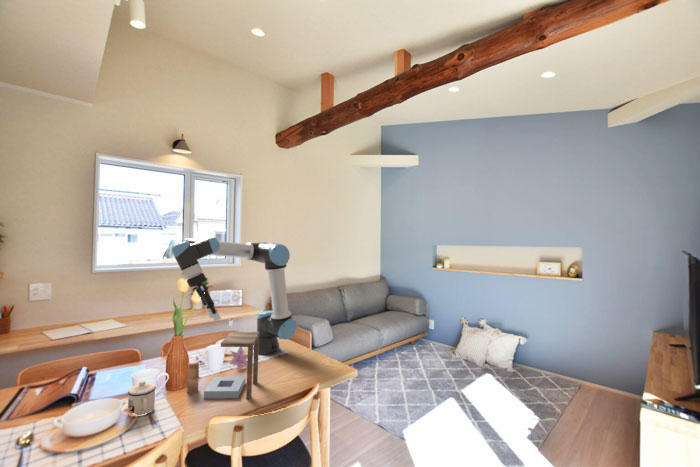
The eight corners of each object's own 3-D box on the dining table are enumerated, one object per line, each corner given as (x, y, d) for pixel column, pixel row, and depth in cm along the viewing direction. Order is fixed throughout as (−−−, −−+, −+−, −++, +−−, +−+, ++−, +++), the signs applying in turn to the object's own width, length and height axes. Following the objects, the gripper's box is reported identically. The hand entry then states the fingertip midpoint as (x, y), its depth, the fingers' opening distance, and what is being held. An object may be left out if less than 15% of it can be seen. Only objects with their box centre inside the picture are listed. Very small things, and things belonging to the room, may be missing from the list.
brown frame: (229, 382, 156) (230, 331, 156) (257, 382, 157) (259, 332, 157) (218, 399, 140) (220, 343, 140) (250, 399, 141) (252, 343, 141)
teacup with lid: (125, 410, 129) (126, 380, 129) (152, 403, 135) (153, 374, 135) (130, 424, 120) (131, 392, 120) (159, 416, 126) (160, 385, 126)
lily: (224, 375, 165) (233, 360, 163) (221, 359, 174) (229, 344, 173) (247, 377, 172) (255, 363, 170) (243, 361, 181) (251, 347, 180)
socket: (214, 383, 154) (214, 376, 154) (245, 383, 156) (245, 376, 156) (203, 398, 140) (203, 391, 140) (237, 398, 142) (238, 391, 142)
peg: (189, 388, 149) (190, 361, 149) (199, 388, 149) (200, 361, 149) (185, 393, 144) (186, 365, 144) (195, 393, 145) (196, 365, 145)
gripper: (184, 279, 157) (203, 319, 159) (188, 279, 135) (211, 326, 138) (199, 272, 161) (219, 311, 163) (206, 271, 139) (228, 317, 141)
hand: (215, 318), depth 150 cm, fingers open, 13 cm apart
